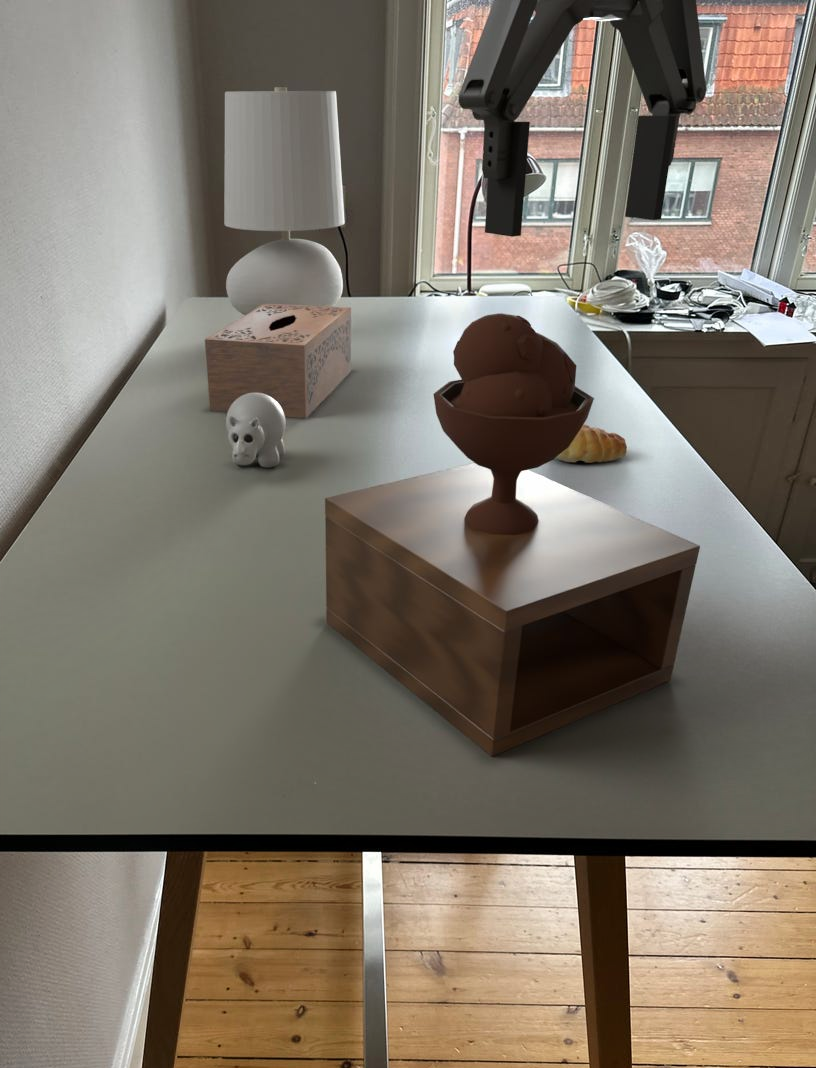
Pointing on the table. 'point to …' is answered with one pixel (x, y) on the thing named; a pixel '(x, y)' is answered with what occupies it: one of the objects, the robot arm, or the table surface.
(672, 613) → the shelf
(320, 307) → the tissue box cover
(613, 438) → the pastry
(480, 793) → the table surface
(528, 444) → the ice cream bowl
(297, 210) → the table lamp
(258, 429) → the chubby cartoon animal
